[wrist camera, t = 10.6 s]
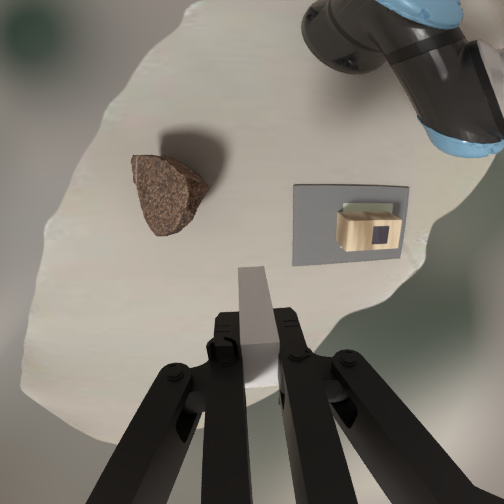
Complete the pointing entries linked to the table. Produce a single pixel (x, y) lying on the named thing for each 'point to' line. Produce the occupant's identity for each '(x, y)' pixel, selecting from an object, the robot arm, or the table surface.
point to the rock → (167, 192)
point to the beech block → (367, 230)
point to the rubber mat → (325, 220)
